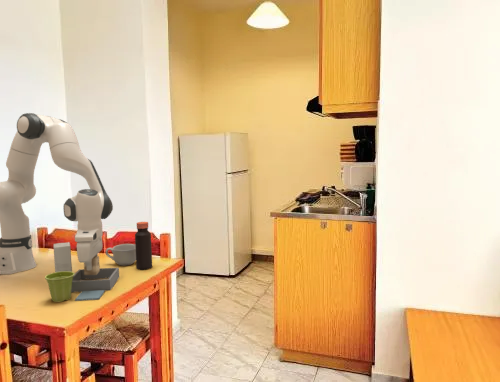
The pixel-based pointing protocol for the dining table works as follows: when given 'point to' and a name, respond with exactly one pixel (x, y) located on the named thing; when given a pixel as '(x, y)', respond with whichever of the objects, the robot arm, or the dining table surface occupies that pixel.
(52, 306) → the dining table surface
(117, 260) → the teacup
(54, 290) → the plant pot
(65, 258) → the small box
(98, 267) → the block
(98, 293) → the pad
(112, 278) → the bin
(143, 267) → the bottle
